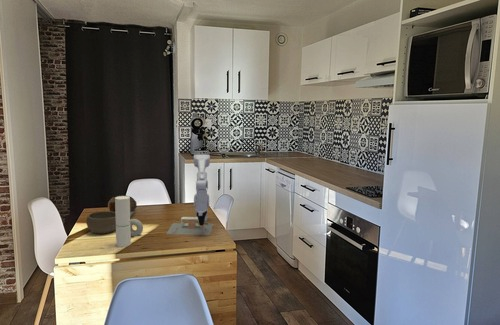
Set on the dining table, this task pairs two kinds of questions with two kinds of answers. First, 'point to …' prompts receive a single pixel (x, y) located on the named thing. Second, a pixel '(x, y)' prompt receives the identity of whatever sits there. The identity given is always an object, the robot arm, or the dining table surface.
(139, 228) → the donut
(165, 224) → the dining table surface
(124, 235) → the cylindrical container
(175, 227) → the metal bar
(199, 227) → the rake
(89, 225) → the bowl
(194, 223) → the block
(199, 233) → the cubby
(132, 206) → the clay pot
